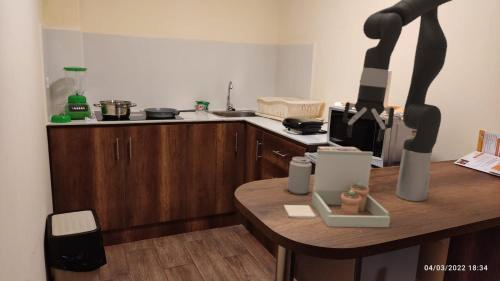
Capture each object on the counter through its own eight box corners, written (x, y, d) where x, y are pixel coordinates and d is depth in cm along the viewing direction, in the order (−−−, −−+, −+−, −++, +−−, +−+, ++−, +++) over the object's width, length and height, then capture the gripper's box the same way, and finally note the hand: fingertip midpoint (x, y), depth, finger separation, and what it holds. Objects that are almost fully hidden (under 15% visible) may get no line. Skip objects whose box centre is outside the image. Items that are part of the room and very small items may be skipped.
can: (308, 196, 125) (311, 162, 123) (286, 193, 126) (289, 160, 124) (309, 189, 132) (312, 157, 130) (288, 186, 134) (291, 154, 131)
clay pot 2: (361, 205, 120) (365, 179, 118) (369, 213, 114) (373, 185, 112) (344, 205, 119) (348, 179, 117) (351, 213, 114) (355, 185, 112)
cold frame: (364, 203, 122) (371, 151, 118) (388, 227, 105) (398, 167, 101) (311, 202, 120) (317, 149, 116) (328, 226, 103) (335, 165, 99)
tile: (308, 207, 116) (308, 205, 116) (315, 218, 108) (315, 216, 108) (283, 206, 115) (283, 205, 115) (288, 217, 107) (289, 215, 107)
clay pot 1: (353, 214, 112) (357, 186, 110) (361, 223, 107) (365, 193, 105) (335, 214, 112) (339, 186, 110) (342, 222, 106) (346, 193, 104)
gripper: (397, 87, 109) (388, 140, 112) (348, 82, 113) (340, 134, 116) (400, 87, 102) (390, 144, 105) (347, 82, 106) (339, 137, 109)
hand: (364, 139), depth 110 cm, fingers open, 8 cm apart
